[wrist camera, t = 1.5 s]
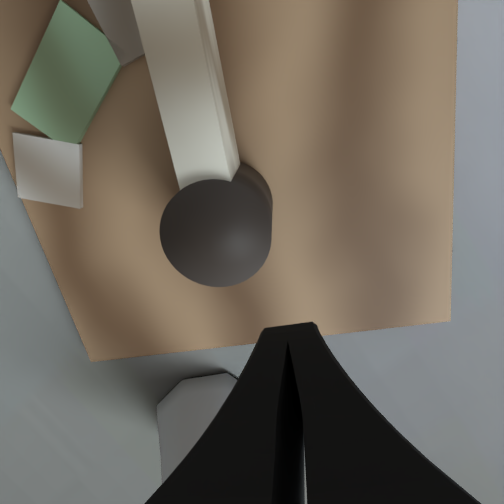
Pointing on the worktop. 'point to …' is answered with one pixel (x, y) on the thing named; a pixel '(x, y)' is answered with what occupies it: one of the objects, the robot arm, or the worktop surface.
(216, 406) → the flask
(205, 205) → the peg
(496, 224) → the worktop surface
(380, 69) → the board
